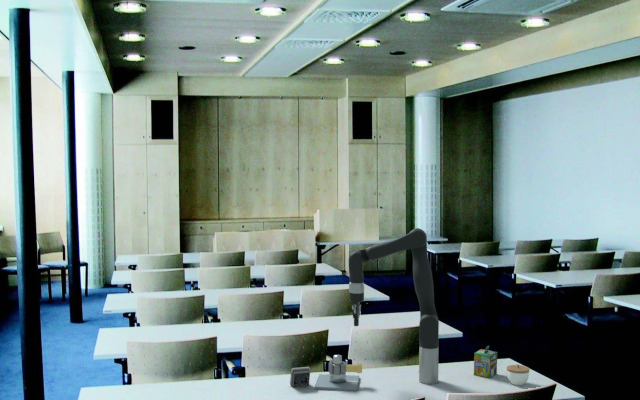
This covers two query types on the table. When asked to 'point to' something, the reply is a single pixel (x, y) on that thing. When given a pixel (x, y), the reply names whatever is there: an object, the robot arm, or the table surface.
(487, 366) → the chalk box
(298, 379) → the electrical switch
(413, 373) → the table surface
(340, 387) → the base board
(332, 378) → the post
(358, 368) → the coupling
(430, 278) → the robot arm
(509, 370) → the lidded jar
